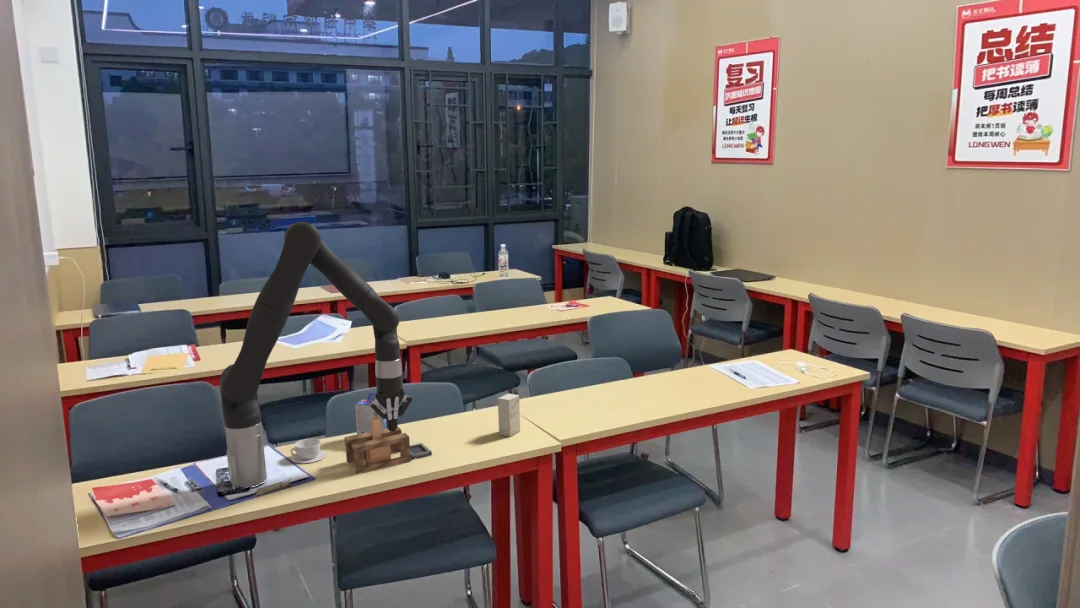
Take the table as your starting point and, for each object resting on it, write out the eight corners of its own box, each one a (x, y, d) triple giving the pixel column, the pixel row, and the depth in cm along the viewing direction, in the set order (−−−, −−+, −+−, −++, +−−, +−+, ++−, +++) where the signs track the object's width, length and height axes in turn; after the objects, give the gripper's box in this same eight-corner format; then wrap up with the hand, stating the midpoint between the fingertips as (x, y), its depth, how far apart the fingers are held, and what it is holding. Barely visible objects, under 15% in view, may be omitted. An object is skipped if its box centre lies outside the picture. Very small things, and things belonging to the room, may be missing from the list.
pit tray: (412, 459, 225) (412, 455, 224) (403, 450, 232) (402, 447, 231) (431, 455, 228) (431, 451, 227) (421, 446, 234) (421, 442, 234)
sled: (371, 465, 220) (368, 422, 218) (365, 460, 224) (362, 417, 222) (391, 461, 223) (388, 418, 220) (385, 455, 227) (382, 413, 225)
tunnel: (356, 473, 216) (354, 447, 214) (346, 461, 224) (344, 437, 223) (410, 461, 223) (409, 436, 222) (398, 450, 232) (397, 426, 230)
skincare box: (510, 437, 240) (508, 400, 238) (498, 435, 243) (497, 398, 240) (520, 431, 246) (519, 394, 243) (509, 428, 248) (508, 392, 246)
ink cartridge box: (393, 436, 244) (390, 392, 241) (386, 443, 238) (383, 398, 235) (364, 434, 246) (361, 391, 243) (356, 441, 240) (353, 397, 237)
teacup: (321, 449, 235) (320, 434, 234) (329, 459, 226) (328, 444, 226) (287, 456, 230) (286, 441, 229) (295, 467, 222) (293, 452, 221)
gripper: (370, 380, 215) (374, 439, 218) (415, 372, 221) (418, 430, 224) (362, 374, 221) (366, 431, 224) (406, 367, 227) (409, 422, 231)
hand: (392, 430), depth 224 cm, fingers closed
